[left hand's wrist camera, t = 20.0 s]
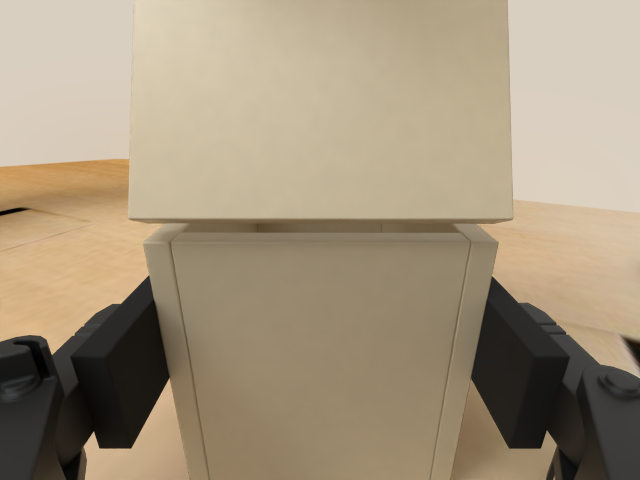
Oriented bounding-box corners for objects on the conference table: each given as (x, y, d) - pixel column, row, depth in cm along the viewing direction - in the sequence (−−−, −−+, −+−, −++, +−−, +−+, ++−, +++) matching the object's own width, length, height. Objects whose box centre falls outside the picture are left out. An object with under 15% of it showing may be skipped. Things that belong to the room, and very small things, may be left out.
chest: (254, 302, 24) (243, 159, 21) (384, 302, 24) (396, 160, 21) (192, 496, 12) (141, 241, 9) (447, 496, 12) (499, 241, 9)
